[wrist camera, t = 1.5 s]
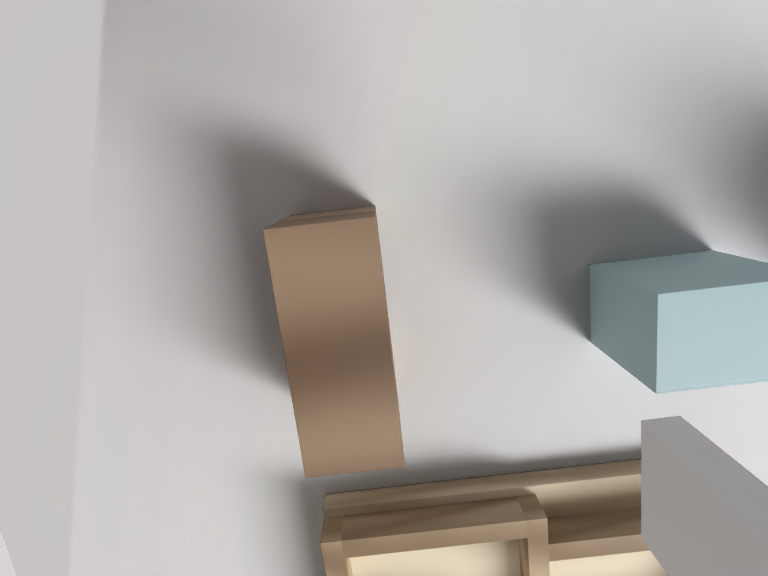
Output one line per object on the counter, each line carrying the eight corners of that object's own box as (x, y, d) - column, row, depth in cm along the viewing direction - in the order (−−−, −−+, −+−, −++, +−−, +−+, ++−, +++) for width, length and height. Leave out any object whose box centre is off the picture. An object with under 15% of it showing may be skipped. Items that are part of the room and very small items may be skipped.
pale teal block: (588, 264, 24) (658, 294, 18) (711, 250, 24) (821, 275, 18) (590, 341, 25) (656, 393, 19) (708, 327, 25) (810, 376, 19)
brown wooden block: (291, 215, 23) (263, 229, 17) (375, 205, 23) (375, 216, 17) (321, 407, 25) (305, 477, 20) (398, 399, 25) (404, 466, 20)
